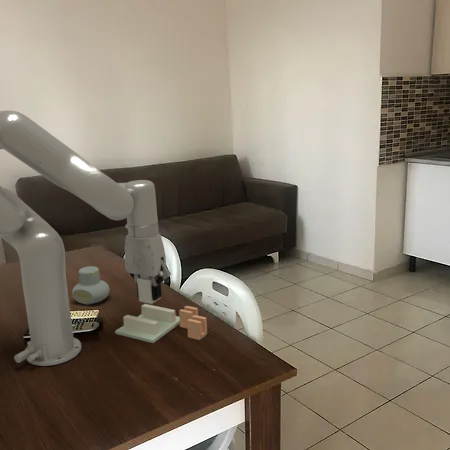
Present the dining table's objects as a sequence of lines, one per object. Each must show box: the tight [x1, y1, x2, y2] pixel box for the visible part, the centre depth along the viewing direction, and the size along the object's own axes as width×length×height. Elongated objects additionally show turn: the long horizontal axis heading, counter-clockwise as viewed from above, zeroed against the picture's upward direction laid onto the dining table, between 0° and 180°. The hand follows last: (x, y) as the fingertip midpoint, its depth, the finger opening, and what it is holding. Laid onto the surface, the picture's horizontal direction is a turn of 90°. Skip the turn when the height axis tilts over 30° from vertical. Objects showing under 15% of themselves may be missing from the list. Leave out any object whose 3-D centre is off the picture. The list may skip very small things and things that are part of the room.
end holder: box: [114, 303, 180, 344], centre depth 130 cm, size 14×12×4 cm
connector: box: [137, 275, 162, 305], centre depth 128 cm, size 4×4×8 cm
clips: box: [178, 305, 208, 341], centre depth 127 cm, size 8×9×5 cm
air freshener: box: [71, 265, 111, 306], centre depth 147 cm, size 11×8×10 cm
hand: (149, 296), depth 128 cm, fingers closed on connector, 4 cm apart
